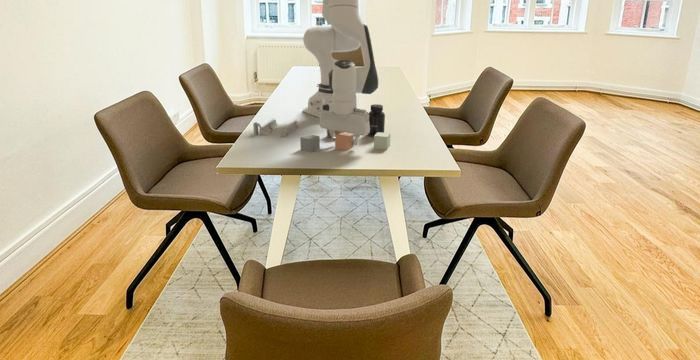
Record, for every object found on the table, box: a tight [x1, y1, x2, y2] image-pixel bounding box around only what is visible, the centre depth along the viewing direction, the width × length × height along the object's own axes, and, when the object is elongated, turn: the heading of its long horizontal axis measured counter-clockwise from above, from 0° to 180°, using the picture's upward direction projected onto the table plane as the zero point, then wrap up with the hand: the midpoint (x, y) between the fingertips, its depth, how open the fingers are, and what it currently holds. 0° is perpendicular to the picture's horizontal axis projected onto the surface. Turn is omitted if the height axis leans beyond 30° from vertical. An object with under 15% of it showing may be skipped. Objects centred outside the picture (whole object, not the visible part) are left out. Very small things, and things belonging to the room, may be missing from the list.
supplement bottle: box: [367, 103, 386, 138], centre depth 212 cm, size 7×7×12 cm
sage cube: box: [373, 132, 391, 151], centre depth 198 cm, size 5×5×5 cm
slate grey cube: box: [299, 133, 321, 153], centre depth 195 cm, size 5×5×5 cm
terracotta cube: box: [334, 132, 355, 151], centre depth 197 cm, size 5×5×5 cm
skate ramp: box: [252, 118, 299, 138], centre depth 218 cm, size 15×13×5 cm
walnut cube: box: [326, 129, 345, 139], centre depth 210 cm, size 5×5×5 cm
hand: (344, 143), depth 198 cm, fingers open, 7 cm apart
